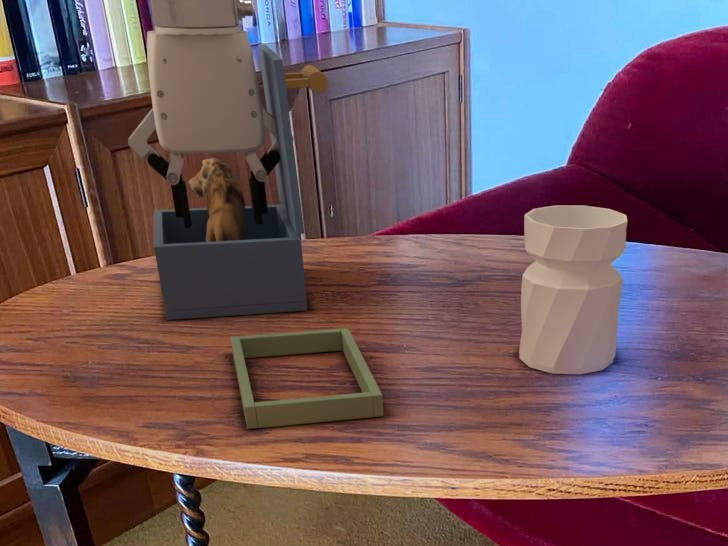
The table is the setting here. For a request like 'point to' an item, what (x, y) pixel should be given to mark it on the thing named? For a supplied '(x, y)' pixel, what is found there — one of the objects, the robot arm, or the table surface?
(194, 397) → the table surface
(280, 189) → the lid
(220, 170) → the lion figurine
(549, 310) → the vase
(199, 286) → the chest
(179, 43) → the robot arm
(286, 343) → the tray
